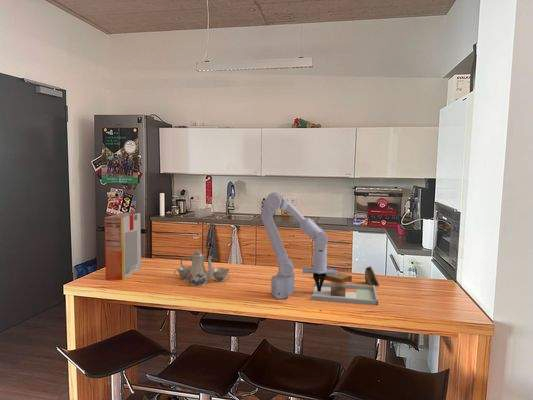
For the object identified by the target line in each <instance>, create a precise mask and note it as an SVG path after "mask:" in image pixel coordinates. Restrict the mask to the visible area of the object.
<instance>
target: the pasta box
mask: <svg viewBox="0 0 533 400" xmlns="http://www.w3.org/2000/svg"><path fill="white" fill-rule="evenodd" d="M141 225H142V224H141V212H128V211H127V212H122V213H118V214H114V215H110V216H105V217H104V252H105V254H104V255H105V256H104V257H105V259H104V260H105V262H104V263H105V280H106V281H107V280H108V281H109V280H111V281H112V280H113V281H115V280H116V281H123V280H125V279H126V278H128V277H129V276H131V275H132V274H134V273H135V272H137V271H138V270H141V268H142V244H141V243H142V242H141V241H142V239H141V238H142V236H141V234H142V233H141V231H142V230H141Z"/></svg>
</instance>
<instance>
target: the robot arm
mask: <svg viewBox="0 0 533 400" xmlns="http://www.w3.org/2000/svg"><path fill="white" fill-rule="evenodd" d="M278 209H279V210H280V211H285V212H286V213H288V214H289V215H290V216H291V217H292V218H293V219H294V220H296V222H298V224H299V228H300V230H302V232H304V234H306V236H308V237H309V238H310V239H312V241H313V249H312V251H313V252H312V253H313V254H312V255H313V256H312V267H302V274H304V275H305V274H309V275H310V274H312V277H313V280H314V283H315V282H316V285H317V291H318V292H321V287H322V284H323V283H325V282H324V281H326V280H325V277H326V275H334V276H337V272H338V270H337V269H331V268H327V266H328V265H327V264H328V262H327V261H328V249H327V248H328V244H329V243H328V242H329V237H328V235H327V234H326V232H325V231H324V230H323V229H322V227H319V226H318V225H317V224H316V222H315V220H314V219H313V218H310V217H304V215H302V213H300V211H298V210H297V208H295V206H294V205H293V204H292V203H291V202H289V200H287V199H285V198H284V197H283V196H281V195H280V194H279V193H277V192H271V193H269V194H268V195H267V197H266V198H265V200H264V202H263V206H262V209H261V210H262V211H261V215H260V217H261V218H260V219H261V220H262V223H263V226H264V229H265V231H266V233H267V236H268V239H269V241H270V243H271V247H272V249H273V252H274V255H275V258H276V261H277V263H278V271H277V272H276V273H277V274H276V275H272V276H271V281H270V283H271V284H270V294H271V295H272V296H273V297H274V298H275V299H276V300H280V299H288V297H289V296H290V295H293V294H294V293H295V273H294V270H295V269H294V268H295V267H294V262H293V260H292V259H291V258H290V256H289V255H288V252H287V251H286V248H285V245H284V243H283V241H282V237H281V235H280V233H279V230H278V227H277V225H276V222H275V220H274V215H275V213H276V211H277V210H278ZM319 276H320V279H319ZM319 282H320V286H319Z"/></svg>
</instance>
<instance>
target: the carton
mask: <svg viewBox="0 0 533 400" xmlns="http://www.w3.org/2000/svg"><path fill="white" fill-rule="evenodd" d="M319 280H320V276H319ZM324 281H330V282H337V283H348V282H350V283H351V282H353V277H352V275H350V274H346V273H342V272H338V271H337V276H334V275H326V277H325V280H324Z"/></svg>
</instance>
